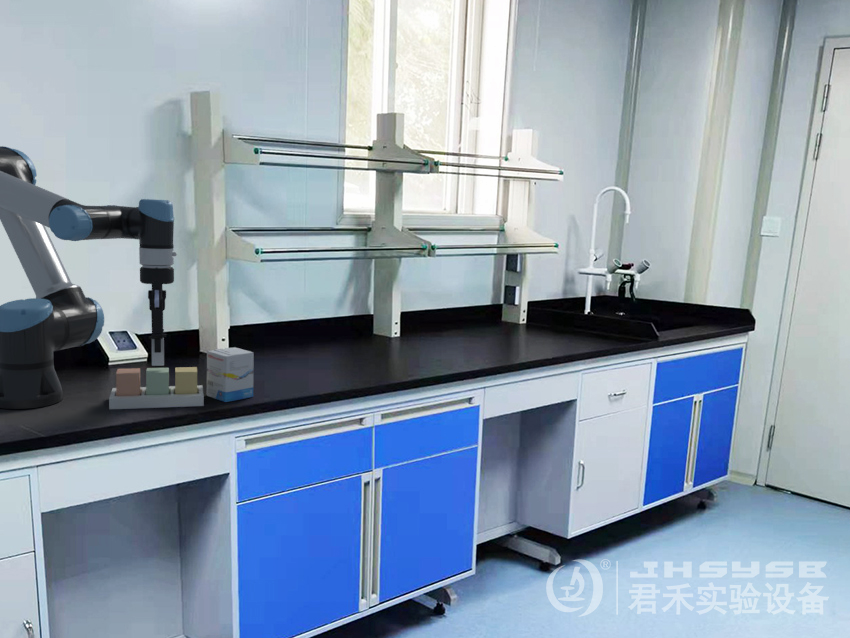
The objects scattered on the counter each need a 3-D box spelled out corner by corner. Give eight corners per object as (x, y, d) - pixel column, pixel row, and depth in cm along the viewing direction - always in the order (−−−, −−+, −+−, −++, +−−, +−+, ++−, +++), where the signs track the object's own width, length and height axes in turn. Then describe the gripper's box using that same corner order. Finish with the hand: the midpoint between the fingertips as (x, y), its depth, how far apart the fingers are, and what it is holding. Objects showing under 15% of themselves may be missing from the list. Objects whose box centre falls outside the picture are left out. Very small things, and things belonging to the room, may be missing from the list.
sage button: (146, 397, 176) (146, 372, 175) (147, 392, 181) (146, 368, 180) (168, 397, 178) (168, 372, 177) (168, 391, 182) (168, 367, 182)
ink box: (254, 397, 188) (254, 351, 186) (225, 402, 182) (225, 356, 180) (234, 390, 194) (234, 346, 192) (205, 395, 187) (205, 350, 186)
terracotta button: (116, 398, 174) (116, 373, 173) (118, 393, 179) (117, 368, 178) (139, 397, 176) (139, 373, 175) (140, 392, 180) (140, 368, 180)
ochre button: (175, 396, 178) (175, 372, 177) (175, 391, 183) (175, 367, 182) (197, 396, 180) (197, 371, 179) (196, 390, 185) (196, 367, 184)
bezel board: (109, 409, 172) (109, 398, 171) (112, 398, 181) (112, 387, 181) (203, 405, 178) (203, 395, 178) (202, 395, 188) (202, 385, 187)
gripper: (173, 269, 170) (174, 370, 173) (174, 263, 182) (174, 358, 185) (138, 268, 167) (139, 371, 171) (141, 263, 179) (142, 359, 183)
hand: (157, 364), depth 178 cm, fingers closed
